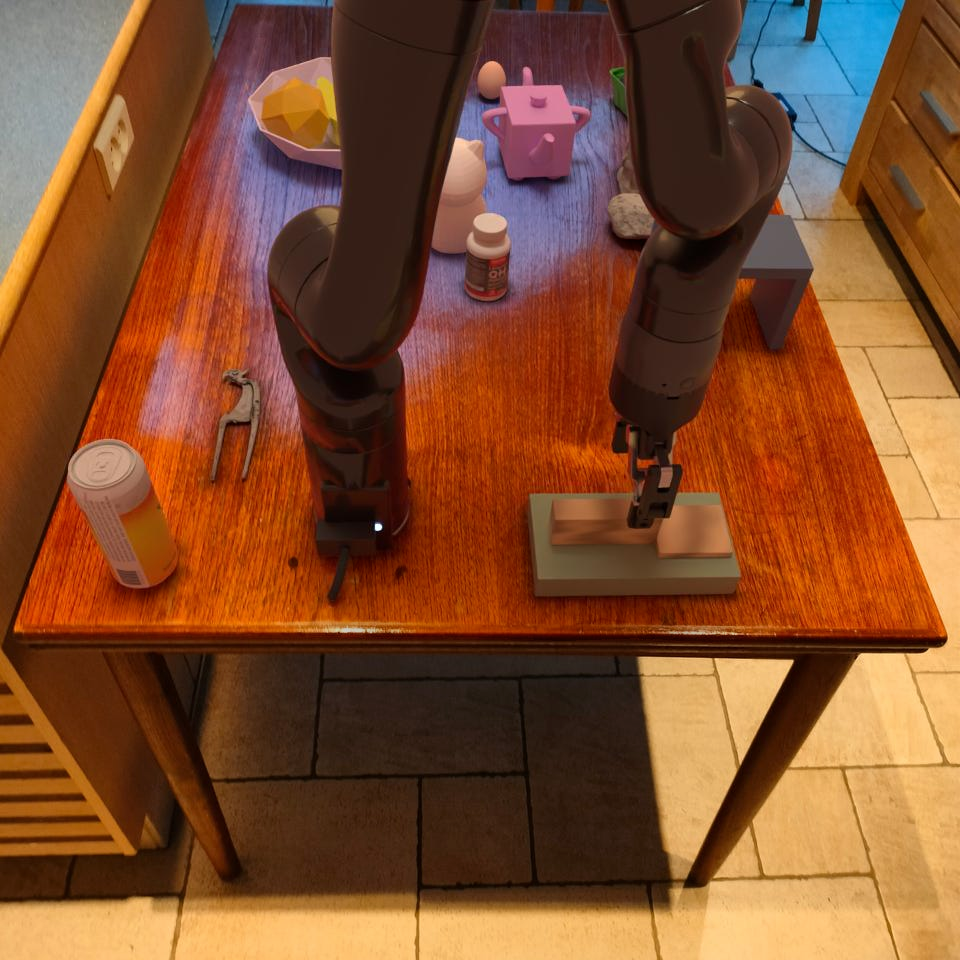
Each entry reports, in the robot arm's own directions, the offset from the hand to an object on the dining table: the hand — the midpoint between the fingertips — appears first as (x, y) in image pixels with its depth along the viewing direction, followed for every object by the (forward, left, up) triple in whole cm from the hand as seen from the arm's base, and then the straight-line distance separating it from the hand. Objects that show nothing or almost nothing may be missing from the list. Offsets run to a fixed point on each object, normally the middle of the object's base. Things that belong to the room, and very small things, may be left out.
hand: (630, 486), depth 81 cm
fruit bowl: (+72, +30, -10) cm, 79 cm away
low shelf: (-1, -1, -9) cm, 9 cm away
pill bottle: (+39, +11, -10) cm, 42 cm away
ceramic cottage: (+65, -17, -10) cm, 68 cm away
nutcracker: (+16, +39, -9) cm, 43 cm away
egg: (+86, +8, -10) cm, 87 cm away
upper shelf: (+33, -16, -9) cm, 38 cm away
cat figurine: (+50, +15, -10) cm, 53 cm away
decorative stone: (+51, -12, -10) cm, 54 cm away
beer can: (-2, +45, -10) cm, 46 cm away
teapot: (+67, +3, -10) cm, 68 cm away
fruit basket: (+82, -16, -10) cm, 84 cm away
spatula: (-1, -2, -6) cm, 7 cm away
